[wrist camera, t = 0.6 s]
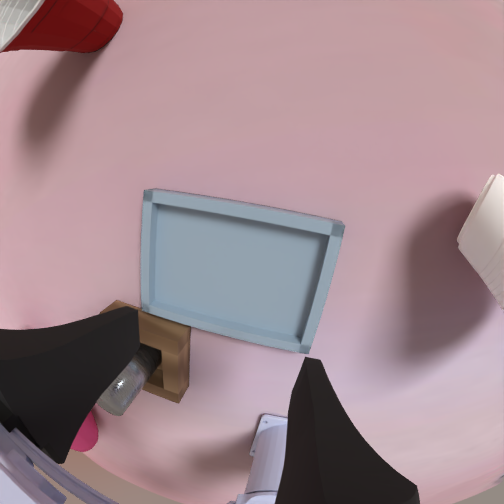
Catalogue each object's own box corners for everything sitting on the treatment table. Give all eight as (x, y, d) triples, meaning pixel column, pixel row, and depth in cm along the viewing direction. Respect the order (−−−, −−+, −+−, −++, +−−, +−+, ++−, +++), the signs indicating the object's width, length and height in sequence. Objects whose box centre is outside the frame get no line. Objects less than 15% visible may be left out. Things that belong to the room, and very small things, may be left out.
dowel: (166, 366, 24) (126, 421, 17) (137, 355, 25) (94, 404, 17) (165, 340, 23) (119, 396, 16) (134, 329, 24) (84, 378, 16)
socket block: (189, 385, 25) (178, 403, 22) (124, 360, 26) (111, 375, 23) (190, 324, 22) (177, 341, 20) (116, 299, 24) (99, 312, 21)
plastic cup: (112, 81, 18) (3, 53, 6) (54, 72, 18) (-29, 59, 7) (167, -13, 14) (94, -76, 3) (97, -7, 14) (29, -41, 3)
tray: (308, 342, 21) (308, 354, 19) (150, 302, 23) (141, 310, 21) (341, 221, 18) (345, 225, 16) (154, 188, 20) (143, 190, 18)
